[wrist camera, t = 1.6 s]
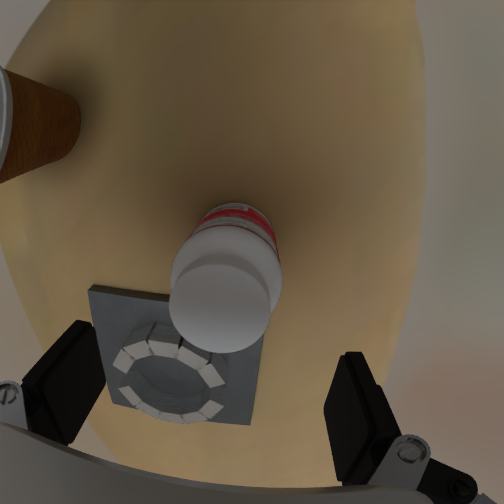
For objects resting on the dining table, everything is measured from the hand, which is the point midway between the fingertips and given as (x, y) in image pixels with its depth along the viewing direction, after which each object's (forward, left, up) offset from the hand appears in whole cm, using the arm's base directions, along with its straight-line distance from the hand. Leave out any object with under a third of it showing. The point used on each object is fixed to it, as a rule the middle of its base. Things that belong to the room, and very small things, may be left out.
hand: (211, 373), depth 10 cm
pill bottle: (-1, 0, -15) cm, 15 cm away
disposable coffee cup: (-10, -17, -15) cm, 25 cm away
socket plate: (+12, -5, -14) cm, 20 cm away
